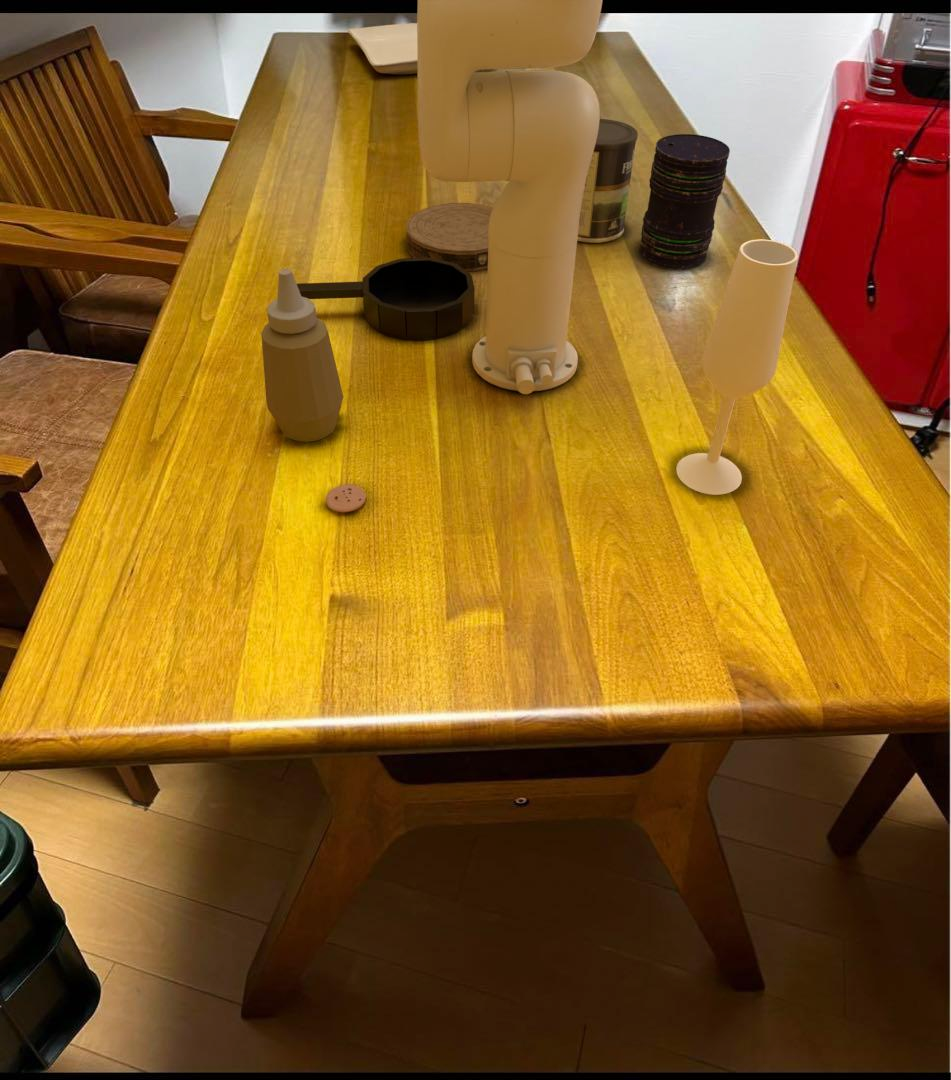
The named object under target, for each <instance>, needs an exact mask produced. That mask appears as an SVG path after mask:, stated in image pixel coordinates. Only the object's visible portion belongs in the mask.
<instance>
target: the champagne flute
mask: <svg viewBox="0 0 951 1080" xmlns="http://www.w3.org/2000/svg"><path fill="white" fill-rule="evenodd" d="M798 259H799V253H798V252H797V250H796V249H794V248H793V247H792V246H790V245H789V244H787V243H785V242H781V241H777V240H772V239H764V238H762V239H761V238H760V239H759V238H758V239H751V240H747V241H745V242H743V243H742V244H741V245H740V247H739V249H738V252H737V255H736V259H735V260H734V264H733V267H732V269H731V272H730V275H729V278H728V281H727V284H726V286H725V289H724V293H723V296H722V298H721V301H720V304H719V307H718V310H717V312H716V316H715V318H714V322H713V324H712V327H711V330H710V333H709V336H708V338H707V341H706V344H705V347H704V350H703V353H702V356H701V364H700V365H701V369H702V372H703V374H704V376H705V378H706V380H707V382H708V383H709V384H710V385H711V387H713V389H714V390H715V391H716V392H717V393H718V394H719V395H720V396H722V400H721V403H720V407H719V411H718V414H717V419H716V422H715V425H714V430H713V434H712V437H711V441H710V445H709V449H708V453H706V452H697V453H691V454H689V455H686V456H684V457H682V458H681V459H680V460H679V461H678V463H677V465H676V469H675V470H676V471H675V472H676V475H677V478H678V479H679V480H680V481H681V483H682V484H684V485H685V486H686V487H688V488H689V489H691V490H693V491H695V492H699V493H701V494H705V495H713V496H717V495H725V494H730V493H731V492H734V491H735V490H737V489H738V488H739V487H740V485H741V484H742V481H743V480H742V479H743V476H742V472H741V470H740V469H739V467H738V466H737V465H736V464H735V463H733V462H732V461H731V460H729V459H728V458H725V457H724V456H721V453H722V449H723V446H724V443H725V439H726V436H727V431H728V429H729V424H730V421H731V416H732V414H733V410H734V407H735V403H736V400H738V399H742V398H744V397H747V396H750V395H753V394H755V393H757V392H759V391H761V390H762V389H763V388H765V387H766V386H767V385H768V384H769V383H770V382H771V381H772V380H773V379H774V377H775V374H776V371H777V368H778V367H777V366H778V361H779V356H780V352H781V348H782V347H781V346H782V341H783V335H784V330H785V325H786V320H787V315H788V310H789V306H790V300H791V296H792V295H791V294H792V289H793V284H794V280H795V274H796V269H797V264H798Z"/></svg>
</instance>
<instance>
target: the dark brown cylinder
mask: <svg viewBox="0 0 951 1080" xmlns="http://www.w3.org/2000/svg"><path fill="white" fill-rule="evenodd" d="M654 149H655V153H654V156H653V161H652V163H651V169H650V178H649V186H648V187H649V189H650V191H649V197H648V202H647V203H648V204H647V209H646V210H645V212H644V215H643V218H642V225H641V232H640V236H641V237H640V243H641V244H640V245H639V248H638V249H639V250H638V253H639V257H641V259H643V261H645V262H646V263H648V264H650V265H652V266H653V267H658V268H659V269H665V270H670V271H671V270H673V271H685V270H687V271H688V270H693V269H696V268H699V267H700V266H702V265H703V264H705V262H706V260H707V257H708V251H709V247H710V244H711V243H712V238H713V231H714V230H715V218H714V217H715V213H716V208H717V204H718V199H719V197H720V195H721V194H722V190H723V189H724V181H725V179H726V173H727V165H728V159H729V156H730V153H731V152H730V151H731V149H730V147H729V146H728V144H726V143H724V142H723V141H721V140H719V139H718V138H714V137H710V136H706V135H702V134H694V133H679V134H678V133H677V134H670V135H666V136H663V137H661V138H660V139H658V140H657V141H656V144H655V148H654Z"/></svg>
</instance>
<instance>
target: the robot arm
mask: <svg viewBox="0 0 951 1080" xmlns="http://www.w3.org/2000/svg"><path fill="white" fill-rule="evenodd" d="M602 6H603V0H417V9H416V10H417V13H416V23H417V63H418V73H417V132H418V133H417V134H418V136H417V137H418V147H419V152H420V157H421V161H422V164H423V166H424V168H425V170H426V171H427V173H428V174H429V175H430V176H431V177H433V178H434V179H436V180H439V181H441V182H447V183H448V182H449V183H474V182H475V183H476V182H477V183H479V182H502V181H505V182H508V183H507V184H506V186H505V187H504V188H503V189H502V191H501V193H500V194H499V196H498V197H497V199H496V201H495V202H494V205H493V206H492V207H493V210H492V212H491V216H490V220H489V233H488V238H489V239H488V269H487V280H486V282H487V283H486V312H485V313H486V315H485V317H486V319H485V336H483V337H482V338H480V339H479V340H478V341H477V342H476V343H475V345H474V347H473V348H472V353H471V364H472V366H473V369H474V370H475V372H476V374H477V375H478V376H480V377H481V379H483V380H484V381H486V382H488V383H489V384H491V385H494V386H496V387H498V388H502V389H505V390H509V391H516V392H519V393H520V394H522V395H530V394H532V393H533V392H540V391H546V390H551V389H553V388H556V387H559V386H561V385H563V384H565V383H566V382H568V381H569V380H570V379H572V377H573V376H574V375H575V373H576V371H577V368H578V362H579V357H578V352H577V350H576V348H575V346H573V345H572V343H571V342H570V341H569V340H568V332H569V322H570V313H571V304H572V296H573V295H572V293H573V285H574V274H575V265H576V256H577V246H578V241H577V238H578V229H579V220H580V212H581V204H582V198H583V192H584V187H585V182H586V178H587V174H588V170H589V166H590V162H591V159H592V155H593V151H594V148H595V144H596V140H597V135H598V130H599V120H600V119H601V117H600V116H601V111H600V103H599V99H598V96H597V93H596V91H595V90H594V87H593V86H592V85H591V84H590V83H589V82H588V81H587V80H586V79H585V78H583V77H581V76H580V75H577V74H575V73H571V72H567V71H562V70H550V69H547V68H558V67H559V68H560V67H565V66H569V65H573V64H575V63H577V62H580V61H581V60H583V59H584V58H585V57H586V56H587V55H588V54H589V52H590V50H591V48H592V46H593V44H594V41H595V39H596V35H597V31H598V27H599V22H600V17H601V13H602ZM515 69H516V70H515ZM517 69H518V70H517ZM519 69H522V70H519ZM524 69H532V70H524ZM533 69H535V70H533ZM537 69H538V70H537ZM481 70H485V71H481ZM486 70H505V71H486Z"/></svg>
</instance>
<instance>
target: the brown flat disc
mask: <svg viewBox="0 0 951 1080" xmlns="http://www.w3.org/2000/svg"><path fill="white" fill-rule="evenodd" d="M493 207H494V206H489V205H485V204H481V203H472V202H447V203H442V204H435V205H432V206H429V207H426V208H421V209H420V210H418V211H417V212H415V213H414V214H412V215H411V216H410V217H409V218H408V220H407V222H406V240H407V252H408V253H409V255H410V256H411V258H434V259H439V260H443V261H447V262H452V263H454V264H457V265H458V266H460V267H461V268H463V269H464V270H466V271H467V272H477V271H481V270H482V271H483V270H488V239H489V238H488V233H489V220H490V216H491V212H492V210H493Z"/></svg>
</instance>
